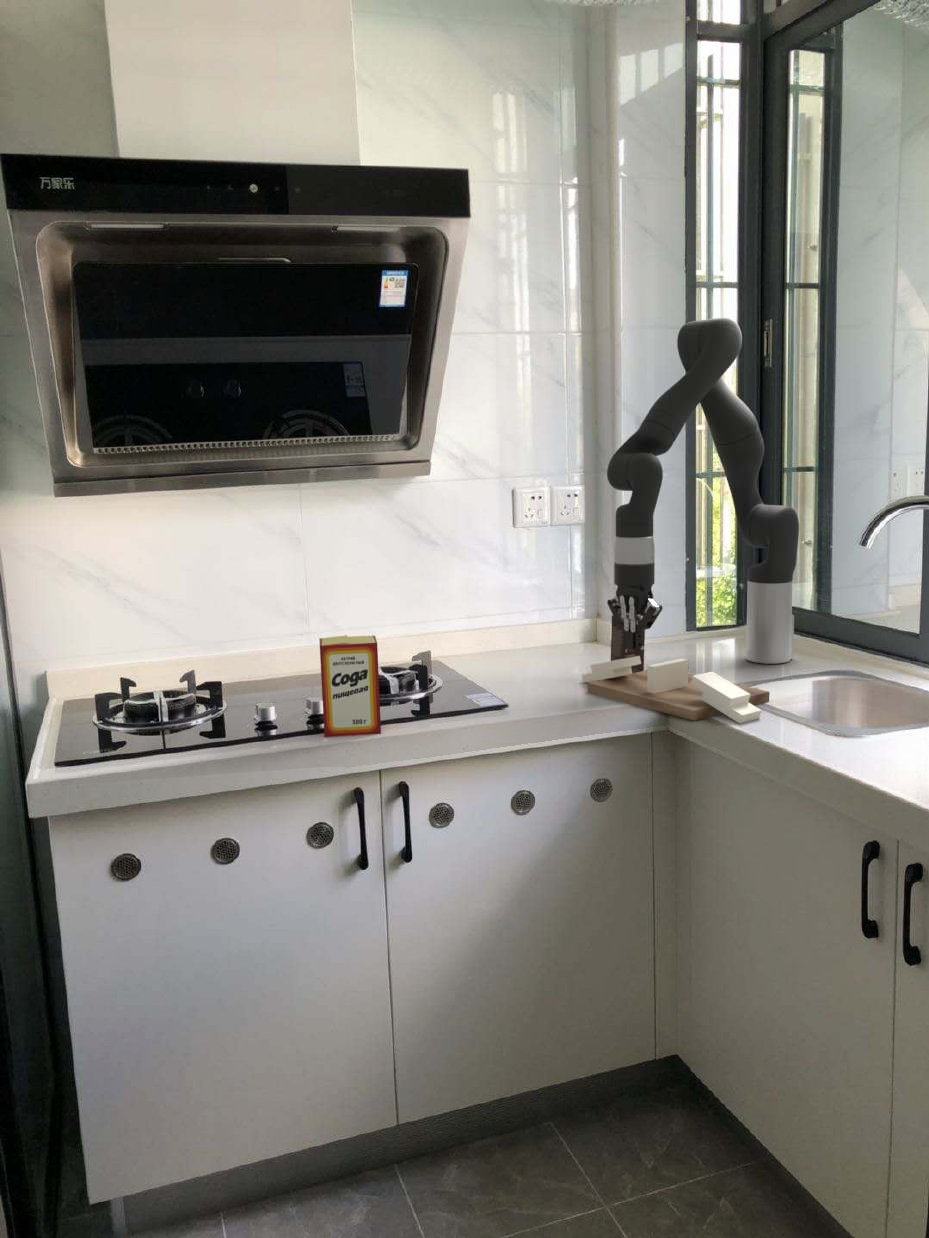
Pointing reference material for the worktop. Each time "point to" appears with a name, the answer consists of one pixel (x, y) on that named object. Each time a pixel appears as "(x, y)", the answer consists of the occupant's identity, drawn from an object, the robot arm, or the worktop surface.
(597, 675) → the domino
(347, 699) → the baking soda box
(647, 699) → the cutting board
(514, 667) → the worktop surface
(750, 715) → the domino
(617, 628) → the box
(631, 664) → the domino
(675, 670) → the domino
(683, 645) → the worktop surface
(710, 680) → the domino
